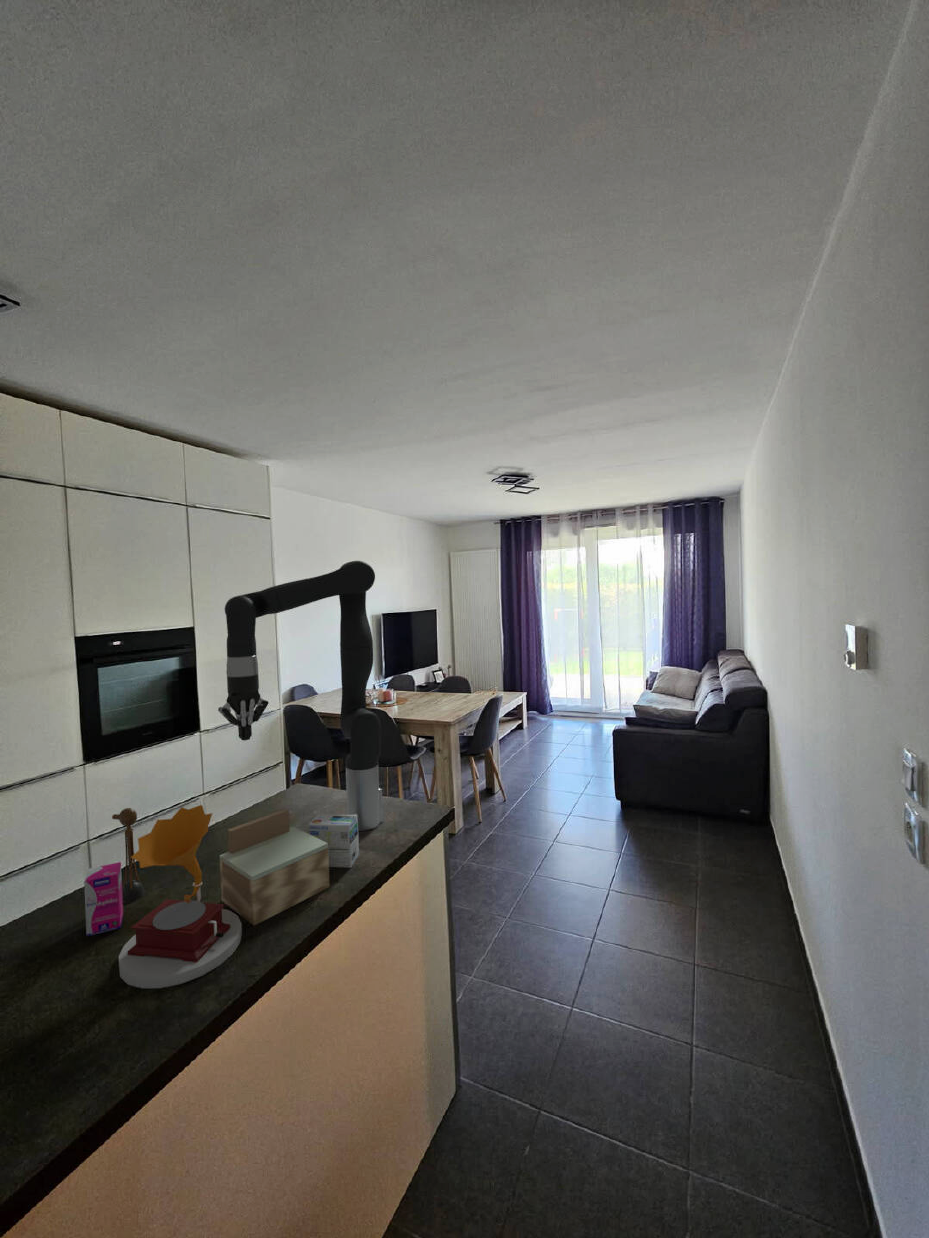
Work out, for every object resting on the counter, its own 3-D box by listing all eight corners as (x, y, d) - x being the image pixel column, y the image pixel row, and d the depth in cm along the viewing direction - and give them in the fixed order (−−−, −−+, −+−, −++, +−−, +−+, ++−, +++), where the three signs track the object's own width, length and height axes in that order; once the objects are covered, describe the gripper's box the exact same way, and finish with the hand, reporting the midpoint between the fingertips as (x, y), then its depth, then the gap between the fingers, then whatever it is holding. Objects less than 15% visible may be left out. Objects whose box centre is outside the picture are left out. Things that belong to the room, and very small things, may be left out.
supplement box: (85, 938, 105) (82, 881, 104) (90, 921, 110) (87, 867, 109) (121, 929, 107) (118, 873, 107) (124, 913, 113) (121, 860, 112)
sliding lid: (293, 830, 130) (292, 806, 130) (328, 847, 121) (327, 821, 120) (219, 859, 116) (218, 832, 116) (252, 881, 107) (251, 852, 107)
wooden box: (295, 867, 130) (293, 831, 130) (329, 886, 121) (328, 847, 121) (221, 900, 117) (219, 860, 116) (254, 925, 108) (252, 881, 107)
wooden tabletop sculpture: (110, 901, 117) (105, 811, 116) (126, 889, 122) (122, 803, 121) (133, 903, 116) (129, 813, 115) (149, 891, 121) (145, 804, 120)
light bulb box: (359, 854, 136) (358, 813, 135) (351, 868, 129) (350, 824, 129) (319, 853, 137) (317, 812, 136) (308, 867, 130) (307, 823, 130)
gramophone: (173, 912, 113) (167, 796, 112) (262, 920, 109) (257, 800, 108) (89, 982, 93) (81, 841, 91) (196, 995, 89) (189, 848, 88)
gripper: (224, 678, 131) (227, 748, 132) (273, 671, 141) (276, 736, 142) (210, 675, 136) (213, 743, 136) (259, 669, 146) (261, 732, 146)
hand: (245, 739), depth 139 cm, fingers closed
